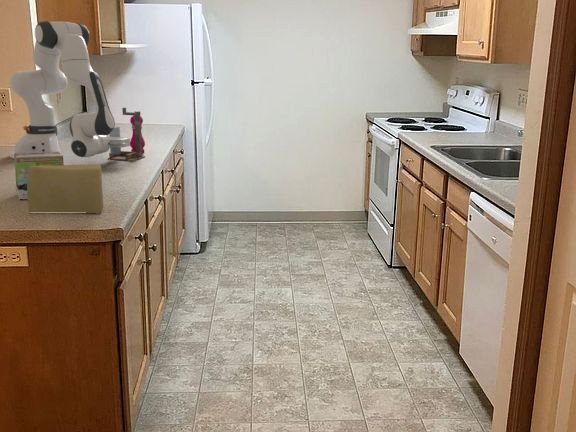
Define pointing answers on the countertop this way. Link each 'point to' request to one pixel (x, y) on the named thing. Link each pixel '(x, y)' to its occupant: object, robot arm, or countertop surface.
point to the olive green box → (65, 188)
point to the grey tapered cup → (115, 134)
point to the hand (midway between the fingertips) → (116, 138)
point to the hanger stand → (138, 154)
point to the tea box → (32, 159)
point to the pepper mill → (133, 142)
